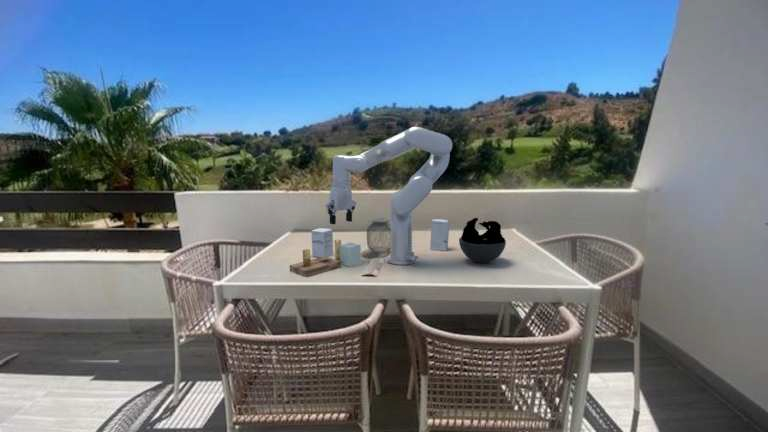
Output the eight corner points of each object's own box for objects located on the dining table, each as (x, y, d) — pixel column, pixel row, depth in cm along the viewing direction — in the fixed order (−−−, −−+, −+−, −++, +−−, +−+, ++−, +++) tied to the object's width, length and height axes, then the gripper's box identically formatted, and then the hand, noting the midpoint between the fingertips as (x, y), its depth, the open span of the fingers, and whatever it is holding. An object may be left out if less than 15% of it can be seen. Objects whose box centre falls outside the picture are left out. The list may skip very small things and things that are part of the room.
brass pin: (343, 259, 177) (342, 240, 176) (338, 260, 175) (337, 241, 174) (338, 258, 179) (338, 239, 178) (333, 259, 177) (333, 240, 176)
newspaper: (372, 261, 177) (371, 257, 176) (387, 262, 176) (387, 258, 175) (361, 278, 154) (361, 273, 153) (379, 278, 153) (379, 274, 152)
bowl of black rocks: (507, 269, 160) (509, 225, 157) (458, 267, 164) (459, 223, 161) (502, 256, 180) (504, 216, 176) (458, 254, 184) (459, 215, 180)
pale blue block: (360, 263, 170) (360, 244, 169) (349, 267, 166) (349, 247, 164) (351, 261, 175) (350, 242, 173) (340, 264, 170) (339, 245, 169)
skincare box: (429, 249, 193) (430, 220, 191) (432, 247, 199) (433, 218, 196) (446, 251, 190) (447, 221, 188) (449, 248, 196) (449, 219, 194)
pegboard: (341, 267, 166) (341, 246, 164) (306, 277, 153) (305, 254, 152) (324, 261, 174) (323, 242, 173) (289, 270, 161) (288, 249, 160)
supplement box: (311, 256, 183) (310, 230, 181) (321, 252, 189) (320, 227, 187) (324, 258, 180) (323, 231, 177) (333, 254, 186) (332, 228, 184)
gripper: (349, 182, 177) (349, 219, 180) (320, 184, 164) (320, 223, 167) (361, 183, 172) (360, 221, 175) (332, 185, 159) (331, 226, 162)
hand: (341, 222), depth 171 cm, fingers open, 9 cm apart
